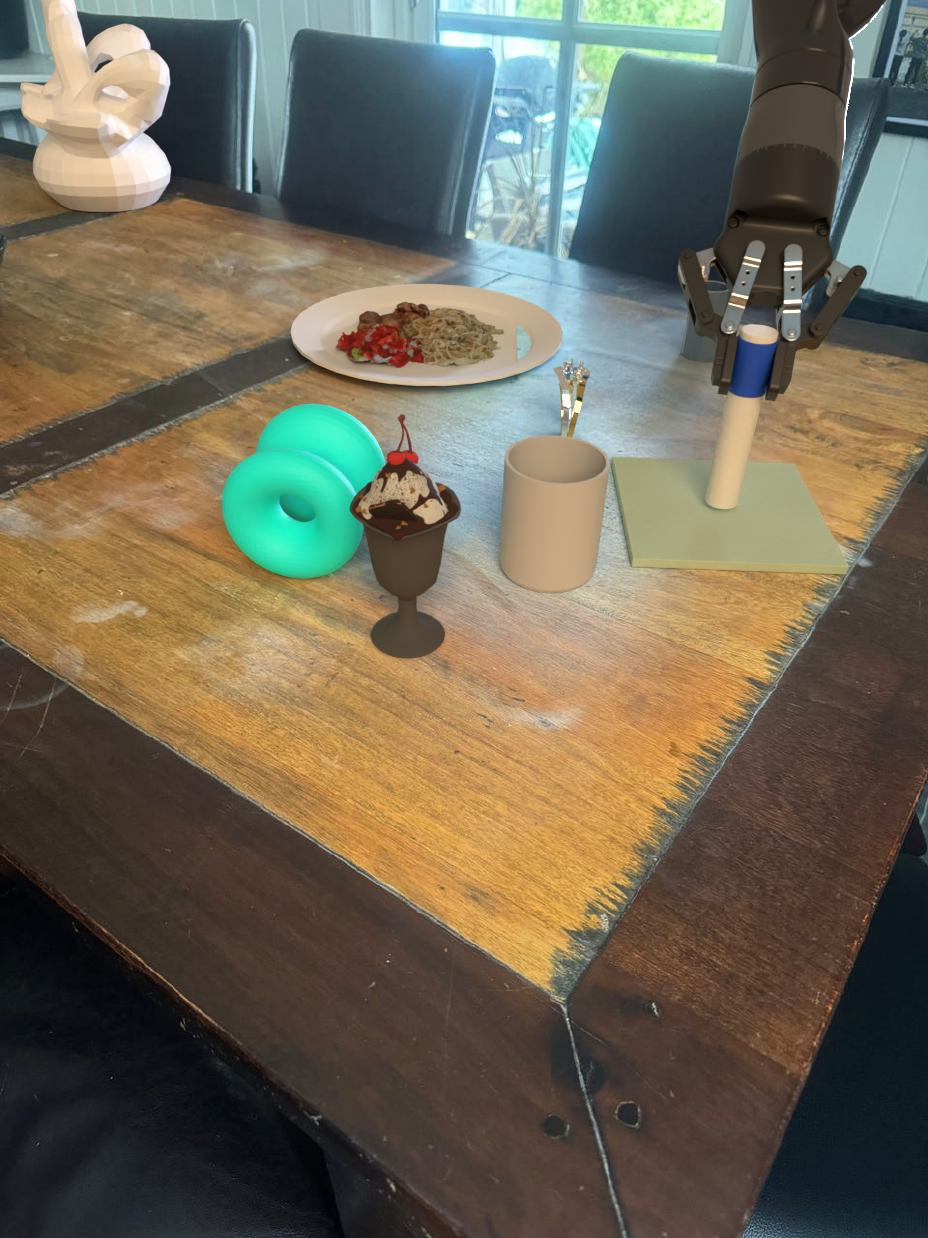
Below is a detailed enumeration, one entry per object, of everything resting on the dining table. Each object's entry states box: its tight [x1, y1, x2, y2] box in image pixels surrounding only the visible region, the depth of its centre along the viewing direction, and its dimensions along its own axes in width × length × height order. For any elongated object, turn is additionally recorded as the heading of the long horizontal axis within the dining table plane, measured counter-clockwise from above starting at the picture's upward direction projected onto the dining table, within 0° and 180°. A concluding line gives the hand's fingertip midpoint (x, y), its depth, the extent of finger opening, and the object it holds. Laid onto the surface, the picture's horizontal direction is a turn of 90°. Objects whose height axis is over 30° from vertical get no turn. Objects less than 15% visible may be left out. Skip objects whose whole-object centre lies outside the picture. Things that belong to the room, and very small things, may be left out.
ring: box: [552, 358, 591, 438], centre depth 81 cm, size 7×3×8 cm, turn 172°
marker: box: [705, 323, 778, 509], centre depth 69 cm, size 3×3×14 cm
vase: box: [19, 0, 172, 213], centre depth 138 cm, size 29×22×35 cm
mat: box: [610, 456, 850, 575], centre depth 74 cm, size 16×16×1 cm
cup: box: [498, 434, 611, 594], centre depth 66 cm, size 7×10×9 cm
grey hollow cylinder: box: [680, 279, 731, 363], centre depth 98 cm, size 4×4×8 cm
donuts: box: [221, 403, 386, 580], centre depth 66 cm, size 10×10×10 cm
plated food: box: [289, 283, 564, 387], centre depth 101 cm, size 30×30×3 cm
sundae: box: [349, 413, 462, 659], centre depth 56 cm, size 7×7×15 cm
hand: (748, 392), depth 66 cm, fingers closed on marker, 2 cm apart
